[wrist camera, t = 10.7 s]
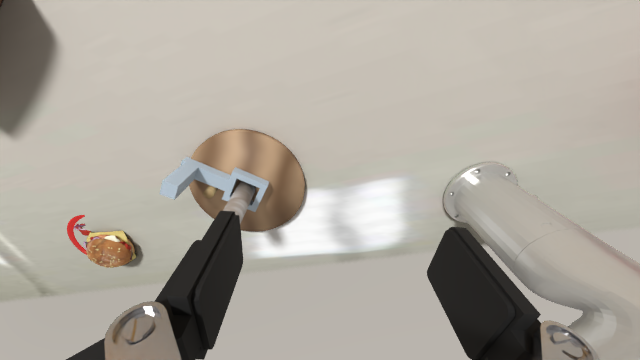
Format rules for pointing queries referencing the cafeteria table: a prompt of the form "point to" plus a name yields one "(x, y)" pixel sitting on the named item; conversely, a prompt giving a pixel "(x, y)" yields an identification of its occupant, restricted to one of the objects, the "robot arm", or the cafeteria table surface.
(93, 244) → the hamburger
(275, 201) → the post base
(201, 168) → the blue square ring handle
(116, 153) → the cafeteria table surface
